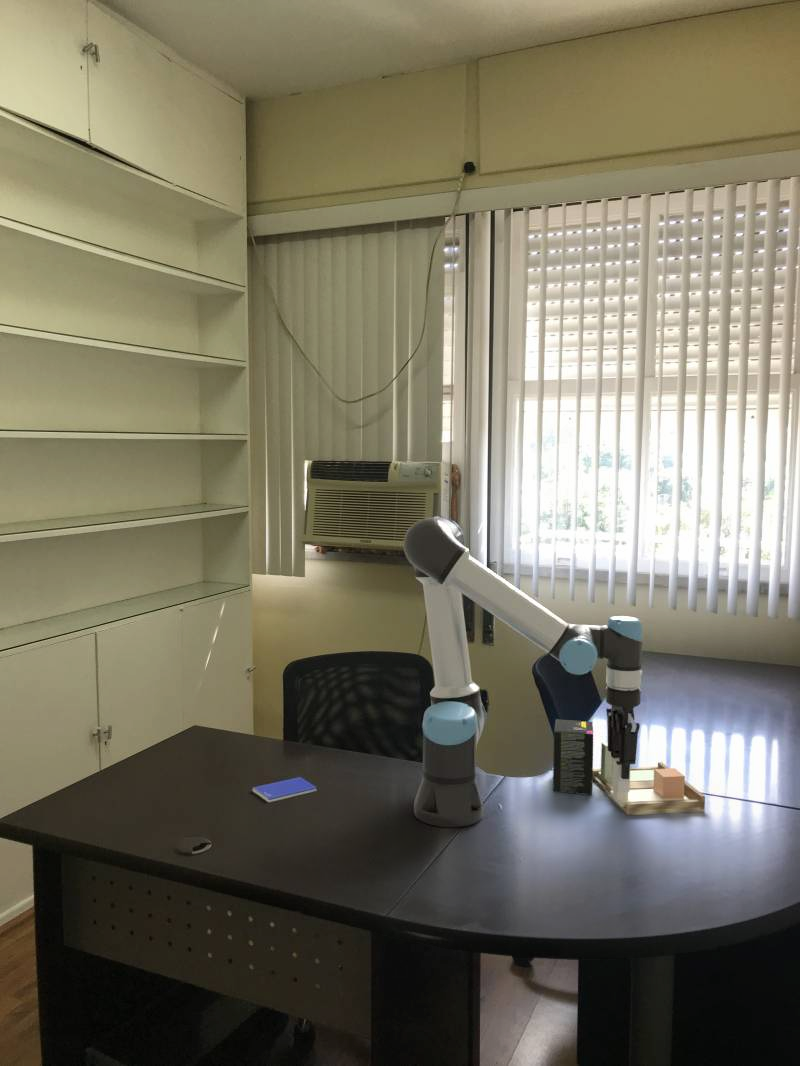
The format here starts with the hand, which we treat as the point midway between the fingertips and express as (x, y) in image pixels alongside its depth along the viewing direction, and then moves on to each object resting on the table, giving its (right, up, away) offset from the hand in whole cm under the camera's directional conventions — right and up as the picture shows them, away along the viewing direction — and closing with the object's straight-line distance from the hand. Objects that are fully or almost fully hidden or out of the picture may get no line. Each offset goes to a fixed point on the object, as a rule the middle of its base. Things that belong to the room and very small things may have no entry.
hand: (620, 788), depth 193 cm
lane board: (+8, -4, +7) cm, 11 cm away
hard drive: (-77, -3, +7) cm, 77 cm away
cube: (+11, -2, +2) cm, 12 cm away
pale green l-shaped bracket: (+7, -2, +13) cm, 15 cm away
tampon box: (-8, -3, +13) cm, 15 cm away
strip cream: (+7, -3, +1) cm, 7 cm away
